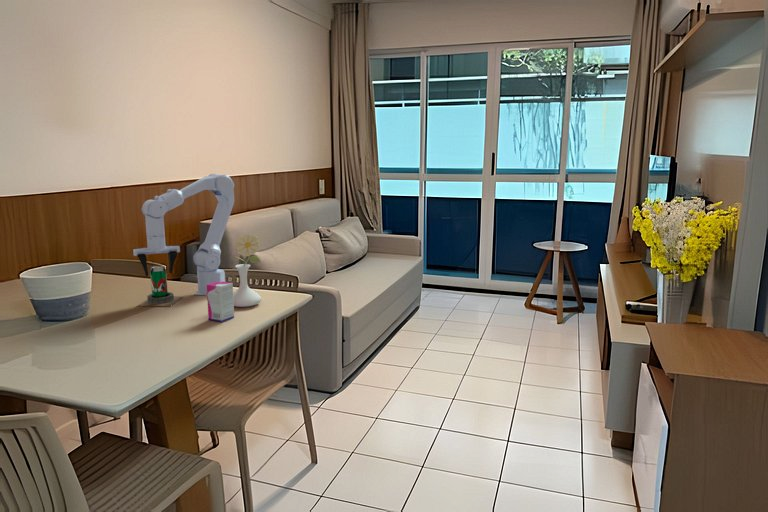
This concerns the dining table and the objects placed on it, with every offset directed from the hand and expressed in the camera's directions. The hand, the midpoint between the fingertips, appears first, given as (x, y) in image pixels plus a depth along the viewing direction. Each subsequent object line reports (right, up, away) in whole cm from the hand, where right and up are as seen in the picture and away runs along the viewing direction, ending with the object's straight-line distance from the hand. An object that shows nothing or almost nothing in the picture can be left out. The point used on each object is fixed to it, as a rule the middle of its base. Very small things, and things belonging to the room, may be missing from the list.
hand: (158, 274), depth 181 cm
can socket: (0, -10, +2) cm, 10 cm away
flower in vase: (+31, -11, -1) cm, 32 cm away
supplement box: (+26, -14, -16) cm, 34 cm away
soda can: (0, -9, +1) cm, 10 cm away
